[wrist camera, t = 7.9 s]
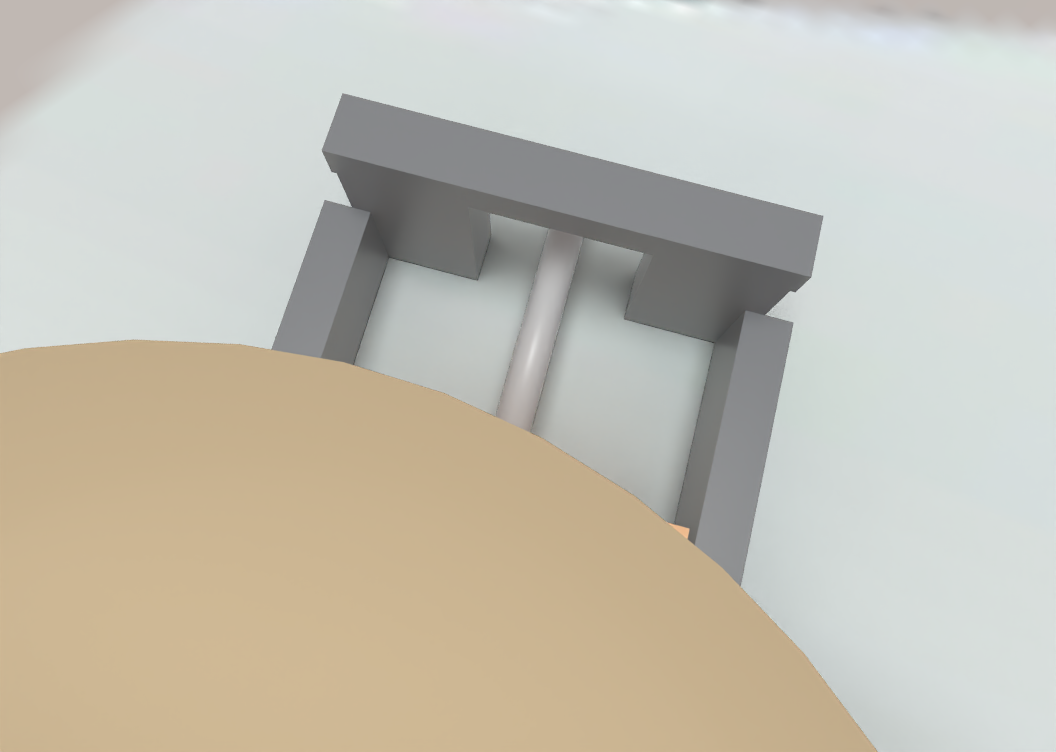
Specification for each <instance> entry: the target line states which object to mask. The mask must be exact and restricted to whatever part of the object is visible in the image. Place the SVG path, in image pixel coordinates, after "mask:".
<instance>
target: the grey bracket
mask: <svg viewBox="0 0 1056 752" xmlns="http://www.w3.org/2000/svg"><path fill="white" fill-rule="evenodd" d="M322 152H323V154H324V156H325V159H326V161H327V163H328V165H329V167H330V169H331V171H332V172H334V173H337V175H338V177H339V179H340V181H341V184H342V186H343V188H344V190H345V192H346V195H347V197H348V199H349V201H350V203H351V206H352V207H349V206H345V205H341V204H337V203H334V202H330V201H326V200H325V201H324V204H323V207H322V209H321V212H320V215H319V218H318V221H317V223H316V226H315V229H314V232H313V235H312V237H311V240H310V243H309V246H308V249H307V251H306V254H305V257H304V260H303V263H302V265H301V268H300V271H299V274H298V277H297V279H296V282H295V285H294V288H293V291H292V293H291V296H290V299H289V302H288V305H287V307H286V310H285V313H284V316H283V318H282V321H281V324H280V327H279V330H278V332H277V335H276V338H275V341H274V344H273V346H272V349H271V350H276V351H281V352H287V353H293V354H299V355H305V356H311V357H316V358H322V359H328V360H334V361H340V362H345V363H348V364H351V365H353V364H354V361H355V358H356V355H357V352H358V349H359V346H360V343H361V340H362V336H363V333H364V330H365V327H366V324H367V321H368V318H369V315H370V312H371V309H372V306H373V303H374V300H375V297H376V294H377V291H378V288H379V285H380V282H381V279H382V276H383V273H384V270H385V267H386V264H387V261H388V258H389V257H391V258H395V259H399V260H402V261H406V262H410V263H414V264H418V265H421V266H425V267H429V268H433V269H437V270H440V271H444V272H448V273H452V274H456V275H459V276H463V277H467V278H471V279H475V280H478V277H479V273H480V270H481V267H482V263H483V260H484V257H485V253H486V250H487V247H488V243H489V240H490V237H491V226H490V213H492V214H496V215H500V216H504V217H508V218H511V219H515V220H519V221H523V222H527V223H531V224H535V225H538V226H542V227H546V228H550V229H554V230H558V231H561V232H565V233H569V234H573V235H577V236H581V237H585V238H588V239H592V240H596V241H600V242H604V243H608V244H612V245H615V246H619V247H623V248H627V249H631V250H635V251H638V252H642V253H644V255H643V257H642V259H641V262H640V264H639V266H638V269H637V271H636V274H635V278H634V282H633V286H632V290H631V294H630V298H629V301H628V305H627V309H626V313H625V317H624V319H626V320H630V321H634V322H638V323H642V324H645V325H649V326H653V327H657V328H661V329H664V330H668V331H672V332H676V333H680V334H683V335H687V336H691V337H695V338H699V339H702V340H706V341H710V342H714V343H715V344H714V349H713V353H712V358H711V362H710V367H709V371H708V376H707V380H706V385H705V389H704V394H703V398H702V403H701V407H700V412H699V416H698V420H697V425H696V429H695V434H694V438H693V443H692V447H691V452H690V456H689V461H688V465H687V470H686V474H685V479H684V483H683V488H682V492H681V496H680V501H679V505H678V510H677V514H676V519H675V523H674V525H678V526H682V527H685V528H689V529H690V530H689V534H688V540H689V541H690V542H691V543H693V544H694V545H695V546H696V547H698V548H699V549H700V550H701V551H702V552H704V553H705V554H706V555H707V556H709V557H710V558H711V559H712V560H713V561H715V562H716V563H717V564H718V565H720V566H721V567H722V568H723V569H724V570H725V571H726V572H727V573H728V574H729V575H730V576H731V577H732V579H733V580H734V581H735V582H736V583H737V584H738V585H739V586H741V581H742V576H743V571H744V566H745V561H746V556H747V552H748V547H749V542H750V537H751V532H752V527H753V522H754V517H755V512H756V507H757V502H758V497H759V492H760V487H761V482H762V477H763V472H764V467H765V462H766V457H767V452H768V447H769V442H770V437H771V432H772V427H773V422H774V417H775V412H776V407H777V402H778V397H779V392H780V387H781V382H782V377H783V372H784V367H785V362H786V357H787V352H788V347H789V342H790V338H791V333H792V328H793V322H789V321H785V320H781V319H778V318H774V317H770V316H766V315H765V314H766V313H767V312H768V311H770V310H771V309H772V308H773V307H774V306H775V305H776V304H777V303H778V302H779V301H780V300H781V299H782V298H783V297H784V296H785V295H786V294H787V293H788V292H789V291H793V292H796V291H797V290H798V289H799V288H800V287H801V286H802V285H803V284H804V283H806V282H807V281H808V280H809V279H810V278H811V276H812V271H813V266H814V260H815V255H816V250H817V245H818V240H819V235H820V230H821V225H822V220H823V216H821V215H817V214H813V213H809V212H805V211H801V210H797V209H794V208H790V207H786V206H782V205H778V204H774V203H770V202H766V201H762V200H758V199H754V198H750V197H747V196H743V195H739V194H735V193H731V192H727V191H723V190H719V189H715V188H711V187H707V186H703V185H700V184H696V183H692V182H688V181H684V180H680V179H676V178H672V177H668V176H664V175H660V174H656V173H653V172H649V171H645V170H641V169H637V168H633V167H629V166H625V165H621V164H617V163H613V162H609V161H606V160H602V159H598V158H594V157H590V156H586V155H582V154H578V153H574V152H570V151H566V150H562V149H559V148H555V147H551V146H547V145H543V144H539V143H535V142H531V141H527V140H523V139H519V138H515V137H512V136H508V135H504V134H500V133H496V132H492V131H488V130H484V129H480V128H476V127H472V126H469V125H465V124H461V123H457V122H453V121H449V120H445V119H441V118H437V117H433V116H429V115H425V114H422V113H418V112H414V111H410V110H406V109H402V108H398V107H394V106H390V105H386V104H382V103H378V102H375V101H371V100H367V99H363V98H359V97H355V96H351V95H347V94H342V97H341V99H340V102H339V105H338V108H337V110H336V113H335V116H334V119H333V121H332V124H331V127H330V130H329V132H328V135H327V138H326V140H325V143H324V146H323V149H322Z"/></svg>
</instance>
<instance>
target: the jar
mask: <svg viewBox="0 0 1056 752" xmlns="http://www.w3.org/2000/svg"><path fill="white" fill-rule="evenodd" d="M0 752H877V750H876V749H875V748H874V746H873V745H872V744H871V742H870V741H869V740H868V738H867V737H866V736H865V734H864V733H863V732H862V730H861V729H860V728H859V726H858V725H857V724H856V722H855V721H854V720H853V718H852V717H851V716H850V714H849V713H848V712H847V710H846V709H845V708H844V706H843V705H842V704H841V702H840V701H839V700H838V698H837V697H836V696H835V694H834V693H833V691H832V690H831V689H830V687H829V686H828V685H827V683H826V682H825V681H824V679H823V678H822V677H821V675H820V674H819V673H818V671H817V670H816V669H815V667H814V666H813V665H812V663H811V662H810V661H809V659H808V658H807V657H806V655H805V654H804V653H803V652H802V651H801V650H800V649H799V648H798V647H797V646H796V645H795V644H794V642H793V641H792V640H791V639H790V638H789V637H788V636H787V635H786V634H785V633H784V632H783V631H782V630H781V629H780V628H779V627H778V626H777V625H776V624H775V623H774V621H773V620H772V619H771V618H770V617H769V616H768V615H767V614H766V613H765V612H764V611H763V610H762V609H761V608H760V607H759V606H758V605H757V604H756V603H755V602H754V601H753V599H752V598H751V597H750V596H749V595H748V594H747V593H746V592H745V591H744V590H743V589H742V588H741V587H740V586H739V585H738V584H737V583H736V582H735V581H734V580H733V579H732V577H731V576H730V575H729V574H728V573H727V572H726V571H725V570H724V569H723V568H722V567H721V566H720V565H718V564H717V563H716V562H715V561H713V560H712V559H711V558H710V557H709V556H707V555H706V554H705V553H704V552H702V551H701V550H700V549H699V548H698V547H696V546H695V545H694V544H693V543H691V542H690V541H689V540H688V539H687V538H685V537H684V536H683V535H682V534H680V533H679V532H678V531H677V530H676V529H674V528H673V527H672V526H671V525H669V524H668V523H667V522H666V521H665V520H663V519H662V518H661V517H660V516H658V515H657V514H656V513H655V512H654V511H652V510H651V509H650V508H649V507H647V506H646V505H645V504H644V503H643V502H641V501H640V500H639V499H638V498H636V497H635V496H634V495H632V494H631V493H629V492H628V491H626V490H624V489H623V488H621V487H620V486H618V485H616V484H615V483H613V482H611V481H610V480H608V479H607V478H605V477H603V476H602V475H600V474H599V473H597V472H595V471H594V470H592V469H591V468H589V467H587V466H586V465H584V464H583V463H581V462H579V461H578V460H576V459H575V458H573V457H571V456H570V455H568V454H567V453H565V452H563V451H562V450H560V449H559V448H557V447H555V446H554V445H552V444H551V443H549V442H547V441H546V440H544V439H543V438H541V437H539V436H537V435H534V434H532V433H530V432H528V431H526V430H524V429H521V428H519V427H517V426H515V425H513V424H510V423H508V422H506V421H504V420H502V419H499V418H497V417H495V416H493V415H491V414H489V413H486V412H484V411H482V410H480V409H478V408H475V407H473V406H471V405H469V404H467V403H465V402H462V401H460V400H458V399H456V398H454V397H451V396H449V395H447V394H445V393H442V392H439V391H435V390H432V389H429V388H426V387H422V386H419V385H416V384H413V383H410V382H406V381H403V380H400V379H397V378H393V377H390V376H387V375H384V374H380V373H377V372H374V371H371V370H367V369H364V368H361V367H358V366H354V365H351V364H348V363H345V362H340V361H334V360H328V359H322V358H316V357H311V356H305V355H299V354H293V353H287V352H281V351H276V350H270V349H264V348H258V347H252V346H246V345H241V344H221V343H197V342H174V341H151V340H124V341H111V342H99V343H87V344H74V345H62V346H49V347H37V348H25V349H20V350H15V351H10V352H5V353H0Z"/></svg>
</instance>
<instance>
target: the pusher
mask: <svg viewBox="0 0 1056 752" xmlns="http://www.w3.org/2000/svg"><path fill="white" fill-rule="evenodd" d="M583 238H584V237H581V236H577V235H573V234H569V233H565V232H561V231H558V230H554V229H550V228H549V229H548V233H547V236H546V240H545V243H544V247H543V250H542V254H541V257H540V261H539V264H538V268H537V271H536V275H535V278H534V282H533V285H532V289H531V293H530V296H529V300H528V303H527V307H526V310H525V314H524V317H523V321H522V324H521V328H520V331H519V335H518V338H517V342H516V345H515V349H514V352H513V356H512V359H511V363H510V366H509V370H508V374H507V377H506V381H505V384H504V388H503V391H502V395H501V398H500V402H499V405H498V409H497V412H496V416H495V417H497V418H499V419H502V420H504V421H506V422H508V423H510V424H513V425H515V426H517V427H519V428H521V429H524V430H526V431H528V432H530V433H531V429H532V425H533V422H534V418H535V414H536V411H537V407H538V403H539V400H540V396H541V392H542V389H543V385H544V381H545V377H546V374H547V370H548V366H549V363H550V359H551V355H552V352H553V348H554V344H555V341H556V337H557V333H558V330H559V326H560V322H561V319H562V315H563V311H564V308H565V304H566V300H567V297H568V293H569V289H570V286H571V282H572V278H573V275H574V271H575V267H576V264H577V260H578V256H579V253H580V249H581V245H582V242H583ZM668 524H669V525H671V526H672V527H673V528H674V529H676V530H677V531H678V532H679V533H680V534H682V535H683V536H684V537H685V538H687V539H688V534H689V530H690V529H689V528H685V527H682V526H678V525H674V524H671V523H668Z"/></svg>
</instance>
